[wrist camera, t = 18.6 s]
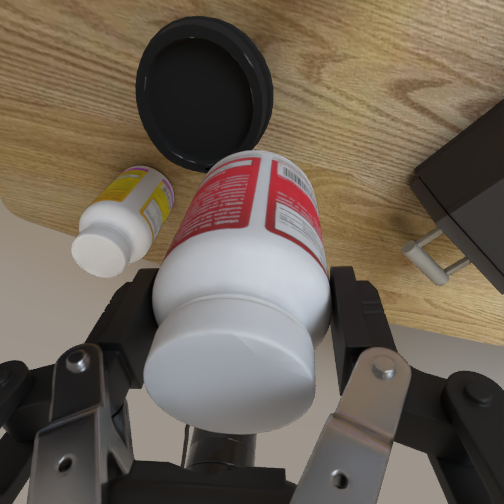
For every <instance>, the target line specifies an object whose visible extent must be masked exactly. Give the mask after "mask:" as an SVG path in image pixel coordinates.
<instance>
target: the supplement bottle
mask: <svg viewBox="0 0 504 504" xmlns="http://www.w3.org/2000/svg"><path fill="white" fill-rule="evenodd" d="M173 204H174V192H173V188H172V186H171V184H170V182H169V181H168V180H167V178H166V177H165V176H164V175H163V174H161V173H160V172H158V171H157V170H155V169H153V168H150V167H147V166H133V167H130V168H128V169H126V170H125V171H123V172H122V173H121V174H120V175H119V176H118V177H117V178H116V179H115V180H114V181H113V182H112V183H111V184H110V185H109V186H108V187H107V188H106V189H105V190H104V191H103V192H102V193H101V194H100V195H99V197H98V198H97V199H96V200H95V201H94V202H93V203H92V204H91V205H90V206H89V207H88V208H87V209H86V210H85V211H84V212H83V214H82V216H81V218H80V222H79V233H80V234H79V235H78V236H77V237H76V238H75V240H74V241H73V243H72V247H71V252H72V256H73V258H74V260H75V261H76V263H77V264H78V265H79V266H80V267H81V268H82V269H84V270H85V271H86V272H88V273H90V274H92V275H94V276H98V277H103V278H111V277H115V276H117V275H119V274H121V273H122V272H123V271H124V269H125V268H126V266H127V265H128V264H130V263H134V262H136V261H138V260H140V259H141V258H143V257H144V256H145V254H146V253H147V252H148V250H149V248H150V247H151V245H152V243H153V241H154V239H155V238H156V236H157V234H158V232H159V231H160V229H161V227H162V225H163V224H164V222H165V220H166V218H167V217H168V215H169V213H170V211H171V209H172V207H173Z"/></svg>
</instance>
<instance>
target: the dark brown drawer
mask: <svg viewBox="0 0 504 504" xmlns="http://www.w3.org/2000/svg"><path fill="white" fill-rule="evenodd" d="M409 186H410V188H411V189H412V190H413V192H414V193H415V195H416V196H417V198H418V199H419V201H420V202H421V204H422V205H423V206H424V208H425V209H426V211H427V212H428V214H429V215H430V217H431V218H432V219H433V221H434V222H435V224H436V225H437V226H438V227H436V228H435V229H433V230H432V231H430V232H429V233H427V234H426V235H424V236H423V237H421V238H420V239H418V240H417V241H416V242H415V241H413V240H410V241H407V242H406V243H404V244H403V245H402V247H401V252H402V253H403V254H404V255H405V256H406V257H407V258H408V259H409V260H410V261H411V262H412V263H413V264H414V265H415V266H416V267H418V268H419V269H420V270H421V271H422V272H423V273H424V274H425V275H426V276H427V277H428V278H429V279H430V280H431V281H432V282H433V283H434V284H435V285H437V286H442V285H444V284H446V283H447V282H448V280H449V276H450V275H452V274H453V273H455V272H457V271H458V270H460V269H462V268H464V267H465V266H467V265H469V264H470V263H473V264H474V265H475V266H476V268H477V269H478V270H479V271H480V272H481V273H482V274H483V275H484V276H485V277H486V278H487V279H488V280H489V281H490V283H491V284H492V285H493V286H494V287H495V288H496V289H497V290H498V291H499V292H500V293H501V294H502V295H503V294H504V274H503V273H502V272H501V271H500V270H499V269H498V268H497V267H496V266H495V264H494V263H493V262H492V261H491V260H490V259H489V258H488V257H487V256H486V254H485V253H484V252H483V251H482V250H481V249H480V248H479V247H478V246H477V244H476V243H475V242H474V241H473V240H472V239H471V238H470V237H469V236H468V234H467V233H466V232H465V231H464V230H463V229H462V228H461V227H460V226H459V224H458V223H457V222H456V221H455V220H454V219H453V218H452V217H451V216H450V214H449V213H448V212H447V211H446V209H445V208H444V207H443V206H442V204H441V203H440V202H439V200H438V199H437V198H436V197H435V195H434V194H433V193H432V192H431V190H430V189H429V188H428V187H427V186H426V184H425V183H424V182H423V181H422V180H421V179H420V178H418V179H417V180H415V181H414V182H413V183H411V184H410V185H409ZM443 233H445V234H446V235H447V237H448V238H449V239H450V240H451V241H452V242H453V243H454V244H455V245H456V246H457V247H458V248H459V249H460V250H461V252H462V253H463V254H464V255H465V256H466V257H464V258H462V259H461V260H459V261H457V262H456V263H454V264H452V265H451V266H449V267H447V268H446V269H444V270H443V269H442V268H441V267H440V266H439V265H438V264H437V263H436V262H435V261H434V260H433V259H432V258H431V257H430V256H429V255H428V254H427V253H426V252H425V251H424V250H423V249H422V248H421V247H423V246H424V245H426V244H427V243H429V242H430V241H432V240H433V239H435V238H437V237H438V236H440V235H441V234H443Z"/></svg>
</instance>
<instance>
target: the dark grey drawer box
mask: <svg viewBox="0 0 504 504" xmlns="http://www.w3.org/2000/svg"><path fill="white" fill-rule="evenodd" d="M414 170H415V171H416V173H417V174H418V175H419V176H420V178H421V179H422V180H423V181H424V183H425V184H426V185H427V187H428V188H429V189H430V190H431V192H432V193H433V194H434V195H435V197H436V198H437V199H438V200H439V202H440V203H441V204H442V206H443V207H444V208H445V209H446V211H447V212H448V213H449V214H450V216H451V217H452V218H453V219H454V220H455V221H456V222H457V223H458V224H459V226H460V227H461V228H462V229H463V230H464V231H465V232H466V233H467V234H468V236H469V237H470V238H471V239H472V240H473V241H474V242H475V243H476V244H477V246H478V247H479V248H480V249H481V250H482V251H483V252H484V253H485V254H486V256H487V257H488V258H489V259H490V260H491V261H492V262H493V263H494V264H495V266H496V267H497V268H498V269H499V270H500V271H501V272H502V273H503V274H504V100H502V101H501V102H500V103H499V104H497V105H496V106H495V107H493V108H492V109H491V110H490V111H488V112H487V113H486V114H484V115H483V116H482V117H481V118H479V119H478V120H477V121H475V122H474V123H473V124H472V125H470V126H469V127H468V128H466V129H465V130H464V131H463V132H461V133H460V134H459V135H458V136H456V137H455V138H454V139H452V140H451V141H450V142H449V143H447V144H446V145H445V146H443V147H442V148H441V149H440V150H438V151H437V152H436V153H434V154H433V155H432V156H431V157H429V158H428V159H427V160H425V161H424V162H423V163H422V164H420V165H419V166H418V167H416V168H415V169H414Z"/></svg>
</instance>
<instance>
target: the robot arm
mask: <svg viewBox="0 0 504 504" xmlns="http://www.w3.org/2000/svg"><path fill="white" fill-rule="evenodd" d="M159 269H160V268H148V269H147V268H146V269H140V270H139V271H138V272H137V274H136V276H135V278H134V279H133V281H132V282H126V283H125V284H124V285H123V286H122V287H120V288H119V289H118V290H117V291H116V292H115V294H114V295H113V297H112V299H111V300H110V304H108V305H107V307H106V308H105V312H103V313H102V315H101V317H100V318H99V320H98V322H97V323H96V325H95V326H94V328H93V330H92V331H91V333H90V334H89V336H88V338H87V340H86V341H85V343H84V344H80V345H77V346H74V347H72V348H70V349H69V350H67V351H66V352H65V353H63V354H62V355H61V356H60V358H59V359H58V360H57V362H56V363H55V364H52V365H48V366H44V367H41V368H37V369H33V370H29V369H28V367H27V366H26V365H25V364H24V363H23V362H22V361H16V360H13V361H8V362H4V363H2V364H0V428H1V427H3V428H4V429H5V430H6V431H7V432H6V433H5V434H4V435H3V437H2V438H1V439H0V504H12V503H13V502H14V500H15V499H16V497H17V496H18V494H19V492H20V491H21V490H22V488H23V487H24V485H25V483H26V482H27V480H28V479H29V477H30V481H29V489H28V498H27V504H376V503H377V500H378V496H379V492H380V489H381V485H382V481H383V478H384V474H385V471H386V467H387V463H388V460H389V456H390V452H391V449H392V445H393V441H395V442H397V443H400V444H403V445H405V446H408V447H411V448H414V449H416V450H419V451H421V452H424V453H427V455H428V458H429V460H430V462H431V465H432V467H433V469H434V472H435V474H436V476H437V478H438V481H439V483H440V485H441V488H442V490H443V492H444V494H445V497H446V499H447V502H448V504H504V390H503V389H502V388H501V387H500V386H499V385H498V384H497V383H495V382H494V381H493V380H491V379H490V378H488V377H486V376H484V375H482V374H479V373H476V372H471V371H458V372H455V373H453V374H452V375H450V376H449V377H448V379H445V378H441V377H438V376H434V375H431V374H427V373H424V372H421V371H419V370H417V369H415V368H413V367H412V366H410V365H409V364H408V362H407V361H406V360H405V359H404V358H403V357H402V356H401V355H400V354H399V353H398V351H397V349H396V346H395V344H394V340H393V337H392V334H391V331H390V328H389V325H388V321H387V318H386V315H385V314H384V309H383V306H382V304H381V300H380V297H379V294H378V290H377V289H376V288H375V287H374V286H373V285H372V284H371V283H370V282H369V281H356V278H355V274H354V270H353V267H352V266H339V267H331V269H330V287H331V296H332V317H331V321H330V325H331V333H332V340H333V348H334V355H335V362H336V370H337V377H338V384H339V392H340V396H342V397H341V399H340V401H339V404H338V406H337V408H336V410H335V412H334V413H333V414H330V415H329V417H328V419H327V421H326V423H325V425H324V427H323V429H322V432H321V434H320V436H319V438H318V441H317V443H316V445H315V447H314V450H313V452H312V454H311V456H310V459H309V461H308V463H307V465H306V467H305V470H304V472H303V474H302V476H301V479H300V481H299V483H298V485H296V484H294V483H292V482H289V481H287V480H286V475H285V469H284V468H266V467H254V463H255V449H256V434H257V433H256V434H226V433H217V432H211V431H207V430H203V429H200V428H197V427H194V432H193V436H192V440H191V445H190V450H189V454H188V459H187V463H186V468H184V464H185V458H186V452H187V444H188V435H189V427H190V425H188V424H186V427H185V440H184V447H183V455H182V462H181V467H180V466H178V465H175V464H172V463H169V462H157V461H156V462H155V461H138V460H135V459H134V454H133V447H132V439H131V429H130V421H129V411H128V403H127V400H126V398H125V397H126V395H127V392H128V390H129V389H141V388H142V386H143V383H144V377H143V372H144V366H145V362H146V360H147V357H148V354H149V352H150V349H151V346H152V343H153V340H154V337H155V334H156V331H157V329H158V328H159V326H158V324H157V322H156V319H155V316H154V312H153V306H152V294H153V286H154V282H155V279H156V276H157V273H158V271H159Z"/></svg>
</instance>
